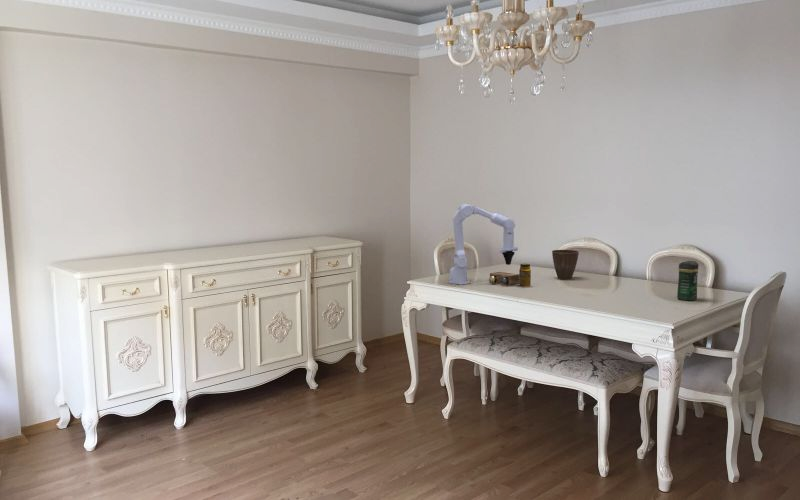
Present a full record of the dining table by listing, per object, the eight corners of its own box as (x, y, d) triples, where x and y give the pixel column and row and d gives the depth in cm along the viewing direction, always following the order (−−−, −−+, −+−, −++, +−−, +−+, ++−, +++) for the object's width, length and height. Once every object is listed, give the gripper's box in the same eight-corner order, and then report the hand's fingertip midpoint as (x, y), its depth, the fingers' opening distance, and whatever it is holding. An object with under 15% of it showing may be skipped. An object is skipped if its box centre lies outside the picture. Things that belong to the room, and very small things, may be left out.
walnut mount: (489, 283, 371) (489, 273, 370) (498, 281, 376) (498, 271, 376) (510, 286, 361) (510, 275, 360) (519, 284, 366) (519, 274, 366)
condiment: (534, 286, 360) (534, 264, 359) (522, 288, 355) (522, 265, 354) (524, 284, 366) (524, 262, 365) (513, 286, 362) (513, 264, 360)
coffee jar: (691, 301, 313) (693, 262, 311) (674, 299, 319) (676, 261, 317) (699, 298, 320) (701, 260, 318) (682, 296, 326) (684, 259, 324)
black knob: (500, 283, 362) (500, 277, 362) (510, 281, 368) (510, 275, 368) (505, 284, 360) (505, 278, 360) (515, 282, 366) (515, 276, 366)
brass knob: (488, 282, 368) (488, 276, 368) (498, 280, 374) (498, 274, 374) (493, 282, 366) (493, 276, 365) (503, 280, 372) (503, 274, 371)
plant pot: (583, 279, 382) (584, 251, 380) (565, 281, 373) (566, 253, 371) (563, 276, 394) (564, 249, 392) (546, 278, 385) (546, 251, 384)
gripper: (506, 241, 364) (506, 266, 365) (522, 239, 374) (521, 263, 375) (496, 241, 369) (495, 265, 370) (511, 239, 379) (511, 262, 380)
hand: (508, 264), depth 373 cm, fingers closed
